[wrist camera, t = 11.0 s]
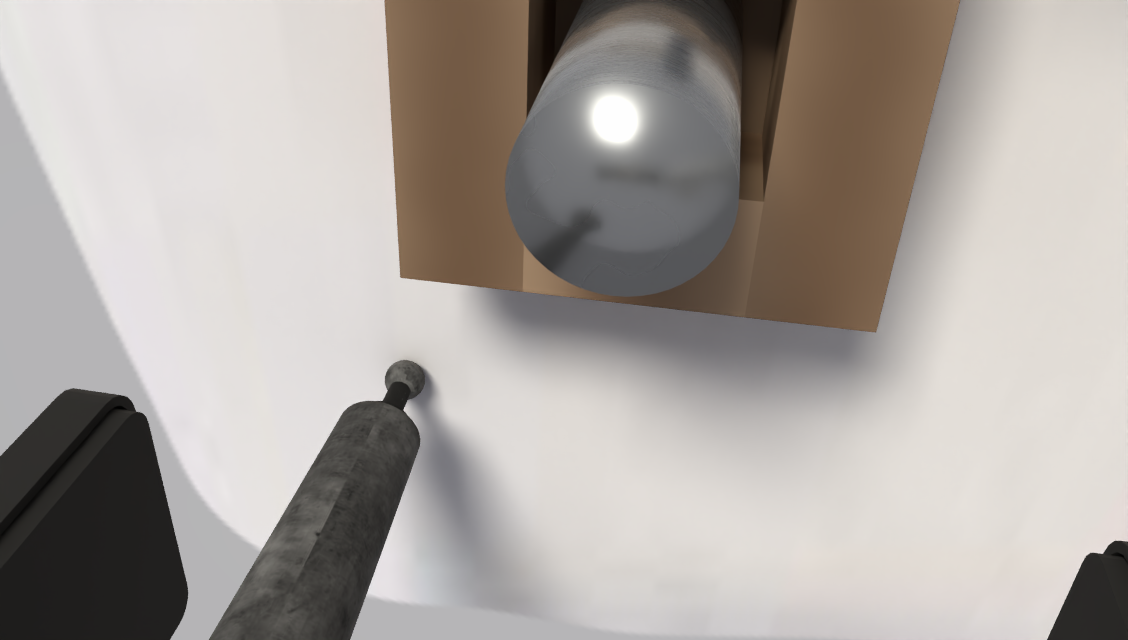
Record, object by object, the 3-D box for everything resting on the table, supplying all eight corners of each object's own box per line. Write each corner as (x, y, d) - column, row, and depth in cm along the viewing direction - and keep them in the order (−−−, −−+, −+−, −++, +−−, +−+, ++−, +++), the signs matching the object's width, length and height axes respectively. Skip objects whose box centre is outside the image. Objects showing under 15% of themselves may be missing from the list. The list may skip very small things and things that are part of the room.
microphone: (511, 292, 32) (257, 979, 16) (510, 458, 36) (306, 1151, 19) (300, 269, 33) (-156, 902, 16) (321, 435, 37) (-30, 1082, 20)
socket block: (966, -242, 23) (1015, -217, 18) (858, 235, 29) (875, 332, 25) (436, -273, 24) (369, -256, 20) (447, 192, 30) (400, 277, 26)
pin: (753, -56, 24) (754, 94, 16) (732, 103, 27) (723, 308, 18) (587, -68, 25) (505, 73, 17) (579, 89, 27) (504, 283, 19)
